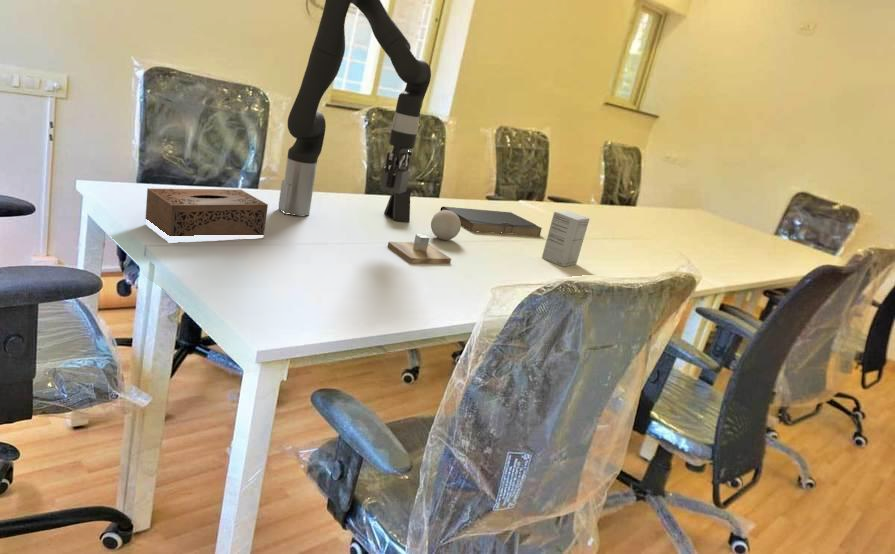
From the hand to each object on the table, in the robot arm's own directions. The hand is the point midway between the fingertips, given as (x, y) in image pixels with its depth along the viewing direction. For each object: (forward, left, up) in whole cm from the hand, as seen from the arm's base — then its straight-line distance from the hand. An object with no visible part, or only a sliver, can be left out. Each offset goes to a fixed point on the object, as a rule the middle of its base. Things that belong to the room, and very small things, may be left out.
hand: (393, 185), depth 189 cm
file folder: (+61, +26, -19) cm, 69 cm away
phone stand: (+19, +27, -18) cm, 38 cm away
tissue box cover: (-52, +4, -18) cm, 55 cm away
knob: (0, 0, -1) cm, 1 cm away
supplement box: (+61, -15, -18) cm, 66 cm away
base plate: (+6, -11, -18) cm, 22 cm away
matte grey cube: (+6, -11, -16) cm, 21 cm away
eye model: (+25, +5, -18) cm, 31 cm away
